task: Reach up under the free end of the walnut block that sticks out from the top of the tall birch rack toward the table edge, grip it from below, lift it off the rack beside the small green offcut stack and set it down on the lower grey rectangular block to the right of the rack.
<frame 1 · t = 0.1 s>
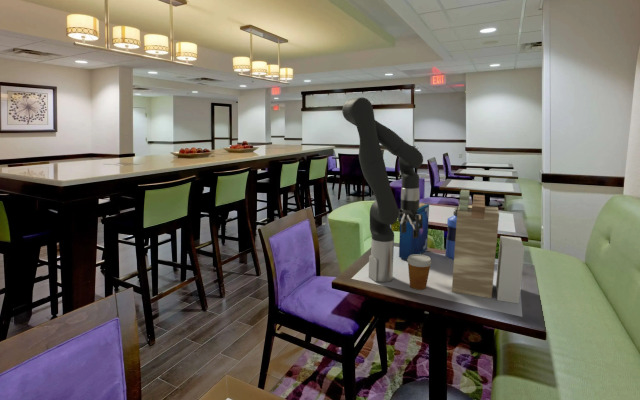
hand: (409, 235, 158), 17 cm above the table, tool pointing down, fingers open, 8 cm apart
book: (412, 255, 186), on the table
disposable coffee cup: (417, 287, 148), on the table
walnut block: (477, 211, 137), point 32 cm above the table, touching birch rack
grey rectangular block: (506, 293, 141), on the table
birch rack: (471, 287, 147), on the table
water bottle: (455, 256, 183), on the table
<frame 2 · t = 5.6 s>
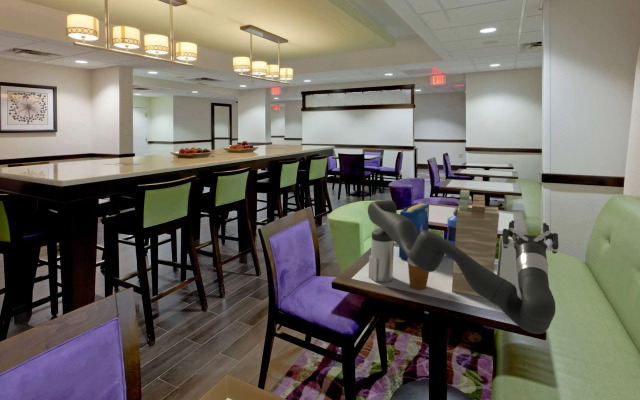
hand: (528, 223, 113), 33 cm above the table, tool pointing upward, fingers open, 8 cm apart
nothing on the table moved.
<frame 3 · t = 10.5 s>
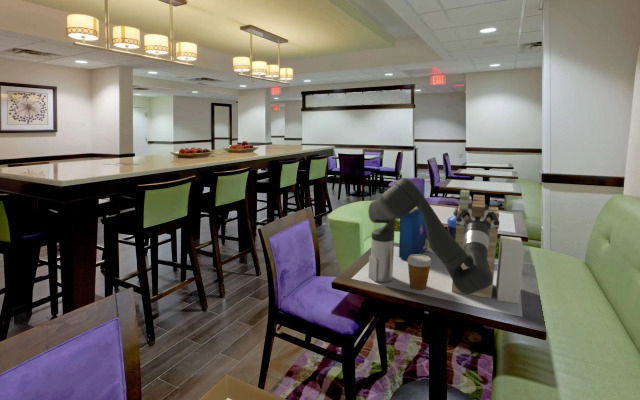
hand: (478, 205, 131), 35 cm above the table, tool pointing upward, fingers closed on walnut block, 4 cm apart
walnut block: (477, 211, 137), point 32 cm above the table, touching birch rack, gripper
everything else where it was.
when the fingers open (26 cm above the table, at t = 17.1 s): walnut block drops 2 cm, resting on arm, grey rectangular block.
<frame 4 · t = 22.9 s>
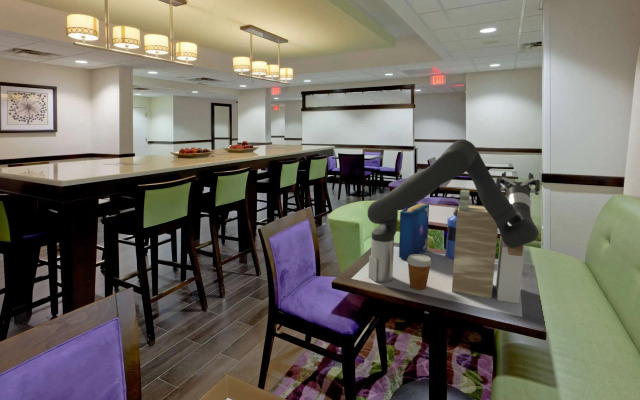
hand: (517, 174, 141), 45 cm above the table, tool pointing upward, fingers open, 8 cm apart
walnut block: (512, 244, 135), point 20 cm above the table, touching arm, grey rectangular block
everything else where it was.
at the end: walnut block inside the target area (0.1 cm from its centre), point 20.5 cm above the table; the gripper is holding nothing; walnut block moved 17.0 cm from its start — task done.
